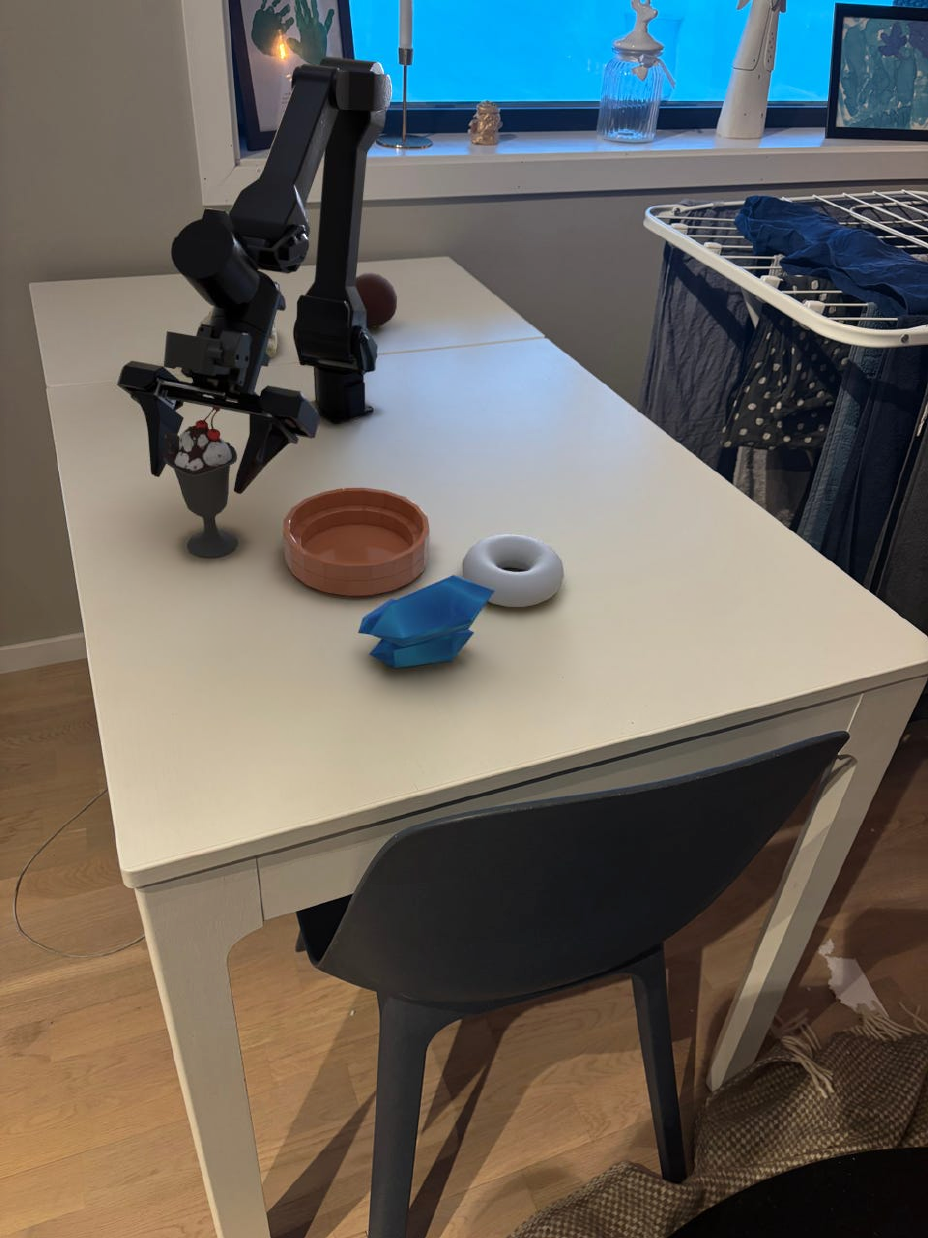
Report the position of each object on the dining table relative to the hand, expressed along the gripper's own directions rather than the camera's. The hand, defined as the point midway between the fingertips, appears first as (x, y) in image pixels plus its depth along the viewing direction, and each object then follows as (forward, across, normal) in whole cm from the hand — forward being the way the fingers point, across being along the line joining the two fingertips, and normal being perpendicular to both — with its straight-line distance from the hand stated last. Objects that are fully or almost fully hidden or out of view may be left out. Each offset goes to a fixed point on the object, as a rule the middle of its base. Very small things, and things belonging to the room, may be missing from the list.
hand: (195, 484), depth 89 cm
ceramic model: (-29, -21, +40) cm, 54 cm away
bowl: (+2, +14, +9) cm, 17 cm away
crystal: (+11, +26, 0) cm, 28 cm away
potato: (-40, -7, +51) cm, 65 cm away
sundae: (+5, 0, +7) cm, 8 cm away
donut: (+2, +30, +10) cm, 32 cm away
